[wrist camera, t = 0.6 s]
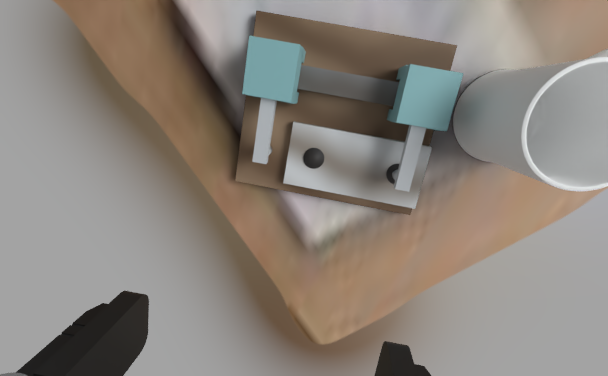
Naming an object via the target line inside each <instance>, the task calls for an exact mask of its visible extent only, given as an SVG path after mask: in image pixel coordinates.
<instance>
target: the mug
mask: <svg viewBox="0 0 608 376" xmlns="http://www.w3.org/2000/svg"><path fill="white" fill-rule="evenodd" d="M453 129H454V133H455V137H456V139H457V141H458V143H459V144H460V146H461V147H462V148H463V149H464V150H465V151H466V152H467V153H468V154H469V155H471V156H472V157H474V158H476V159H479V160H482V161H486V162H493V163H496V164H498V165H501V166H503V167H506V168H508V169H511V170H513V171H516V172H518V173H521V174H523V175H526V176H528V177H531V178H533V179H536V180H538V181H541V182H543V183H546V184H548V185H551V186H554V187H556V188H560V189H564V190H569V191H590V190H596V189H600V188H604V187H607V186H608V49H605V50H603V51H601V52H599V53H597V54H595V55H593V56H591V57H589V58H587V59H583V60H577V61H571V62H564V63H558V64H552V65H546V66H540V67H533V68H527V69H521V70H512V69H504V70H497V71H493V72H490V73H487V74H485V75H483V76H481V77H480V78H478V79H477V80H475V81H474V82H473V83H471V84H470V85H469V86H468V87H467V88H466V90H465V91H464V92H463V93H462V95H461V96H460V98H459V100H458V102H457V104H456V107H455V110H454V115H453Z"/></svg>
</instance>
